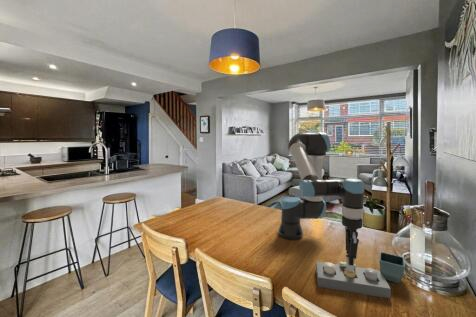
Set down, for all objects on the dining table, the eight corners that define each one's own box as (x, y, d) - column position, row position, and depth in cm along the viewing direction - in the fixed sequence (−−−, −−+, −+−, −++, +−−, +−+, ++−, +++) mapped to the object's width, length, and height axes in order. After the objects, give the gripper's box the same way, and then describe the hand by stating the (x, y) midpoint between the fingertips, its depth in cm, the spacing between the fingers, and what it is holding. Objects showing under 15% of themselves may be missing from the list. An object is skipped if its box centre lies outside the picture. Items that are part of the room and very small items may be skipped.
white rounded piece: (324, 278, 92) (324, 267, 92) (323, 272, 97) (323, 261, 96) (335, 280, 91) (335, 268, 91) (333, 273, 95) (334, 263, 95)
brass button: (344, 284, 90) (345, 273, 90) (342, 278, 94) (343, 267, 94) (356, 286, 89) (356, 275, 89) (353, 279, 93) (354, 268, 93)
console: (318, 286, 90) (318, 277, 89) (315, 269, 101) (316, 261, 101) (390, 298, 82) (390, 288, 82) (379, 278, 94) (379, 270, 94)
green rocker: (340, 267, 95) (340, 263, 95) (339, 265, 98) (339, 261, 98) (355, 270, 93) (355, 265, 94) (354, 267, 96) (354, 263, 96)
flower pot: (378, 269, 101) (379, 251, 100) (402, 276, 96) (403, 257, 95) (378, 279, 93) (379, 260, 93) (403, 287, 88) (405, 266, 88)
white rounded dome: (366, 285, 88) (366, 273, 88) (363, 278, 92) (363, 267, 92) (378, 286, 87) (379, 275, 86) (375, 280, 91) (375, 268, 91)
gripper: (367, 223, 82) (364, 282, 84) (358, 212, 94) (356, 263, 96) (345, 221, 84) (343, 278, 86) (339, 210, 96) (337, 261, 98)
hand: (350, 270), depth 91 cm, fingers closed
